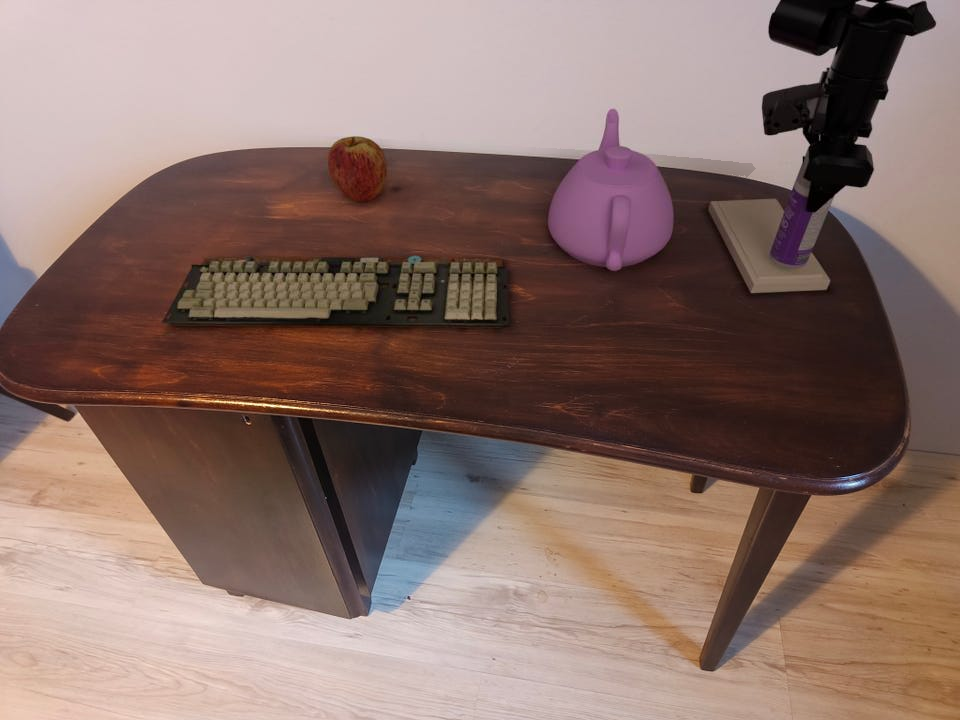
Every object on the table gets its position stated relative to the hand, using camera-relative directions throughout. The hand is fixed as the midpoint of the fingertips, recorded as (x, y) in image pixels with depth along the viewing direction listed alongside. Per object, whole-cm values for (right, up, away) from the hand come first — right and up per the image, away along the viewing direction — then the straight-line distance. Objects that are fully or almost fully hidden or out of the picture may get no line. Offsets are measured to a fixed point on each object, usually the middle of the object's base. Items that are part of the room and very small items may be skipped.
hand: (810, 200), depth 77 cm
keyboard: (-59, -10, +9) cm, 60 cm away
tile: (0, -3, +13) cm, 14 cm away
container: (0, -6, +6) cm, 9 cm away
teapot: (-21, -1, +17) cm, 27 cm away
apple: (-59, +7, +27) cm, 66 cm away
